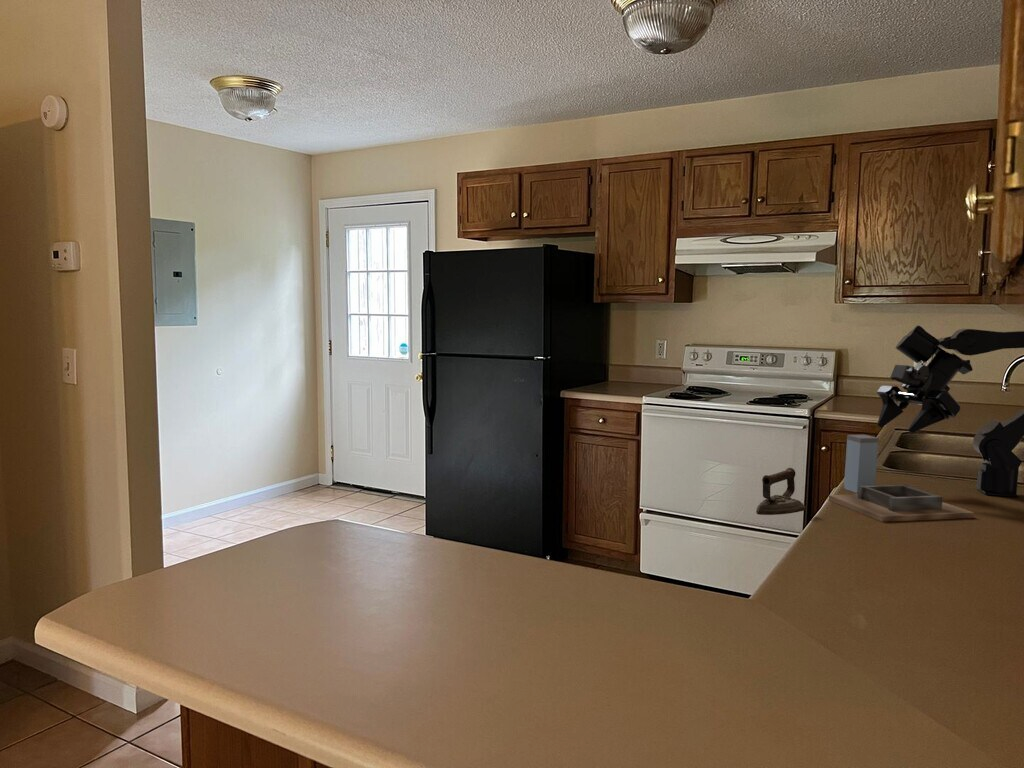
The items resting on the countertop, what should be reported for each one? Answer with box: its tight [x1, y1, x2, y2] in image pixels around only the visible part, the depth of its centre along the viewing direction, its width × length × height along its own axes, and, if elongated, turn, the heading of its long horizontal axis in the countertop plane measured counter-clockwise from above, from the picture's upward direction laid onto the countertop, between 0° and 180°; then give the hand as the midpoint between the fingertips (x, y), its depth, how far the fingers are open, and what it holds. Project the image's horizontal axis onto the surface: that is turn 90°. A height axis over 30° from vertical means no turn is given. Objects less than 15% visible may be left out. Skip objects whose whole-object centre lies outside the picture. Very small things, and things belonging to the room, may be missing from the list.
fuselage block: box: [843, 434, 879, 494], centre depth 161 cm, size 4×4×12 cm
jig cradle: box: [828, 484, 975, 523], centre depth 146 cm, size 20×16×4 cm
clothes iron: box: [755, 467, 807, 516], centre depth 143 cm, size 7×11×10 cm, turn 129°
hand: (893, 429), depth 160 cm, fingers open, 9 cm apart
